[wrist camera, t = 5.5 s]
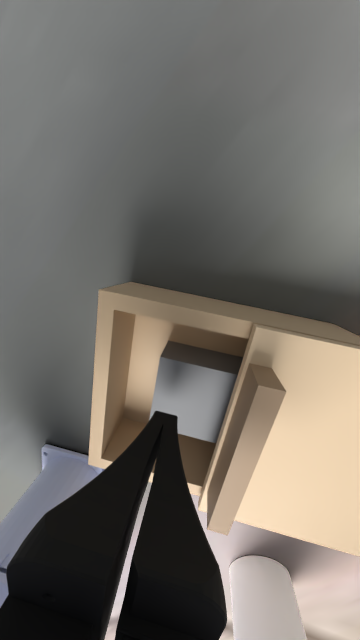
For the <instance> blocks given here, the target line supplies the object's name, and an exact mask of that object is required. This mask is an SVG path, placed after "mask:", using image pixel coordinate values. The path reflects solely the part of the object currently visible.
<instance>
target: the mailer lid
mask: <svg viewBox="0 0 360 640" xmlns="http://www.w3.org/2000/svg"><path fill="white" fill-rule="evenodd" d="M198 510H200V511H203V512H207V530H211V531H214V532H218V533H221V534H224V535H228V533H229V531H230V529H231V526H232V524H233V521H238V522H241V523H245V524H248V525H252V526H255V527H259V528H262V529H266V530H269V531H272V532H276V533H279V534H283V535H286V536H290V537H293V538H297V539H300V540H304V541H307V542H311V543H314V544H318V545H321V546H324V547H328V548H331V549H335V550H338V551H342V552H345V553H349V554H352V555H356V556H359V557H360V346H356V345H351V344H347V343H342V342H337V341H333V340H328V339H323V338H319V337H314V336H309V335H304V334H300V333H295V332H290V331H286V330H281V329H276V328H272V327H267V326H262V325H257V324H254V325H253V328H252V331H251V334H250V338H249V341H248V344H247V347H246V350H245V354H244V357H243V360H242V363H241V366H240V370H239V373H238V376H237V379H236V382H235V386H234V389H233V392H232V395H231V398H230V402H229V405H228V408H227V411H226V414H225V418H224V421H223V424H222V427H221V430H220V434H219V437H218V440H217V443H216V446H215V449H214V453H213V456H212V459H211V462H210V465H209V469H208V472H207V475H206V478H205V481H204V485H203V488H202V491H201V494H200V497H199V502H198Z"/></svg>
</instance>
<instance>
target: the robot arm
mask: <svg viewBox="0 0 360 640" xmlns="http://www.w3.org/2000/svg"><path fill="white" fill-rule="evenodd" d="M177 422H178V417H177V416H176V415H172V414H168V413H164V412H160V411H155V412H154V414H153V416H152V417H151V419H150V420H149V422H148V423H147V424H146V426H145V427H144V429H143V430H142V431H141V432H140V434H139V435H138V436H137V437H136V438H135V440H134V441H133V442H132V443H131V444H130V445H129V446H128V447H127V448H126V450H125V451H124V452H123V453H122V454H121V455H120V456H119V457H118V458H117V459H116V460H115V461H113V462H112V463H111V464H110V465H109V466H108V467H107V468H106V469H102V468H99V467H95V466H92V465H88V458H89V456H88V455H84V454H80V453H77V452H73V451H70V450H66V449H63V448H59V447H55V446H52V445H48V444H45V445H44V446H43V447H42V472H41V473H40V474H39V475H38V477H37V478H36V479H35V480H34V482H33V483H32V484H31V485H30V487H29V488H28V489H27V490H26V492H25V493H24V494H23V495H22V497H21V498H20V499H19V500H18V502H17V503H16V504H15V505H14V507H13V508H12V509H11V510H10V512H9V513H8V514H7V515H6V517H5V518H4V519H3V521H2V522H1V523H0V640H104V639H105V635H106V631H107V627H108V623H109V620H110V616H111V612H112V608H113V604H114V600H115V597H116V593H117V589H118V585H119V582H120V578H121V574H122V570H123V566H124V563H125V559H126V555H127V551H128V548H129V544H130V540H131V536H132V533H133V529H134V525H135V521H136V518H137V514H138V511H139V507H140V504H141V501H142V498H143V495H144V492H145V490H146V487H147V484H148V481H149V478H150V475H151V472H152V469H153V466H154V463H155V460H156V463H155V469H154V475H153V481H152V485H151V489H150V493H149V497H148V501H147V505H146V508H145V512H144V516H143V520H142V523H141V527H140V531H139V535H138V538H137V542H136V546H135V550H134V553H133V557H132V562H131V567H130V572H129V577H128V582H127V587H126V592H125V597H124V601H123V605H122V609H121V613H120V617H119V621H118V625H117V629H116V636H115V640H219V638H220V636H221V634H222V632H223V630H224V629H225V627H226V623H227V611H226V603H225V595H224V589H223V584H222V579H221V574H220V569H219V565H218V563H217V561H216V559H215V556H214V554H213V552H212V550H211V547H210V545H209V543H208V540H207V538H206V536H205V533H204V531H203V528H202V526H201V523H200V520H199V517H198V515H197V512H196V509H195V506H194V503H193V501H192V497H191V494H190V491H189V488H188V484H187V480H186V477H185V473H184V468H183V464H182V459H181V453H180V447H179V440H178V428H177Z"/></svg>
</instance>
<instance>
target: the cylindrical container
mask: <svg viewBox="0 0 360 640" xmlns="http://www.w3.org/2000/svg"><path fill="white" fill-rule="evenodd" d="M229 577H230V591H231V605H232V619H233V633H234V640H307V638H306V634H305V630H304V626H303V623H302V619H301V615H300V611H299V607H298V604H297V600H296V596H295V592H294V589H293V585H292V581H291V577H290V574H289V572H288V570H287V569H286V568H285V567H284V566H283V565H282V564H281V563H279V562H277V561H275V560H273V559H271V558H267V557H263V556H254V555H253V556H244V557H241V558H238V559H236V560H235V561H233V562H232V563H231V565H230V567H229Z"/></svg>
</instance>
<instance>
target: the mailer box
mask: <svg viewBox="0 0 360 640" xmlns="http://www.w3.org/2000/svg"><path fill="white" fill-rule="evenodd" d="M254 324H257V325H262V326H267V327H272V328H276V329H281V330H286V331H290V332H295V333H300V334H304V335H309V336H314V337H319V338H323V339H328V340H333V341H337V342H342V343H347V344H351V345H356V346H360V336H357V335H355V334H353V333H351V332H349V331H347V330H345V329H343V328H341V327H339V326H337V325H335V324H333V323H328V322H323V321H318V320H313V319H309V318H304V317H299V316H294V315H289V314H284V313H280V312H275V311H270V310H265V309H260V308H255V307H251V306H246V305H241V304H236V303H231V302H226V301H221V300H217V299H212V298H207V297H202V296H197V295H192V294H188V293H183V292H178V291H173V290H168V289H163V288H159V287H154V286H149V285H144V284H139V283H134V282H128V283H124V284H120V285H115V286H111V287H107V288H103V289H99V296H98V312H97V328H96V344H95V361H94V377H93V393H92V409H91V426H90V442H89V458H88V465H92V466H95V467H99V468H102V469H106V468H107V467H108V466H109V465H110V464H111V463H112V462H113V461H115V460H116V459H117V458H118V457H119V456H120V455H121V454H122V453H123V452H124V451H125V450H126V448H127V447H128V446H129V445H130V444H131V443H132V442H133V441H134V440H135V438H136V437H137V436H138V435H139V434H140V432H141V431H142V430H143V429H144V427H145V426H146V424H147V423H148V422H149V420H150V419H151V417H152V416H153V414H154V412H155V411H160V412H164V413H168V414H172V415H176V416H177V417H178V422H177V428H178V440H179V447H180V453H181V459H182V464H183V468H184V473H185V477H186V480H187V484H188V488H189V491H190V494H194V495H197V496H200V494H201V491H202V488H203V485H204V481H205V478H206V475H207V472H208V469H209V465H210V462H211V459H212V456H213V453H214V449H215V446H216V443H217V440H218V437H219V434H220V430H221V427H222V424H223V421H224V418H225V414H226V411H227V408H228V405H229V402H230V398H231V395H232V392H233V389H234V386H235V382H236V379H237V376H238V373H239V370H240V366H241V363H242V360H243V357H244V354H245V350H246V347H247V344H248V341H249V338H250V334H251V331H252V328H253V325H254ZM155 463H156V460H155ZM155 463H154V466H153V469H152V472H151V475H150V478H149V481H148V482H152V481H153V475H154V469H155Z"/></svg>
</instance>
